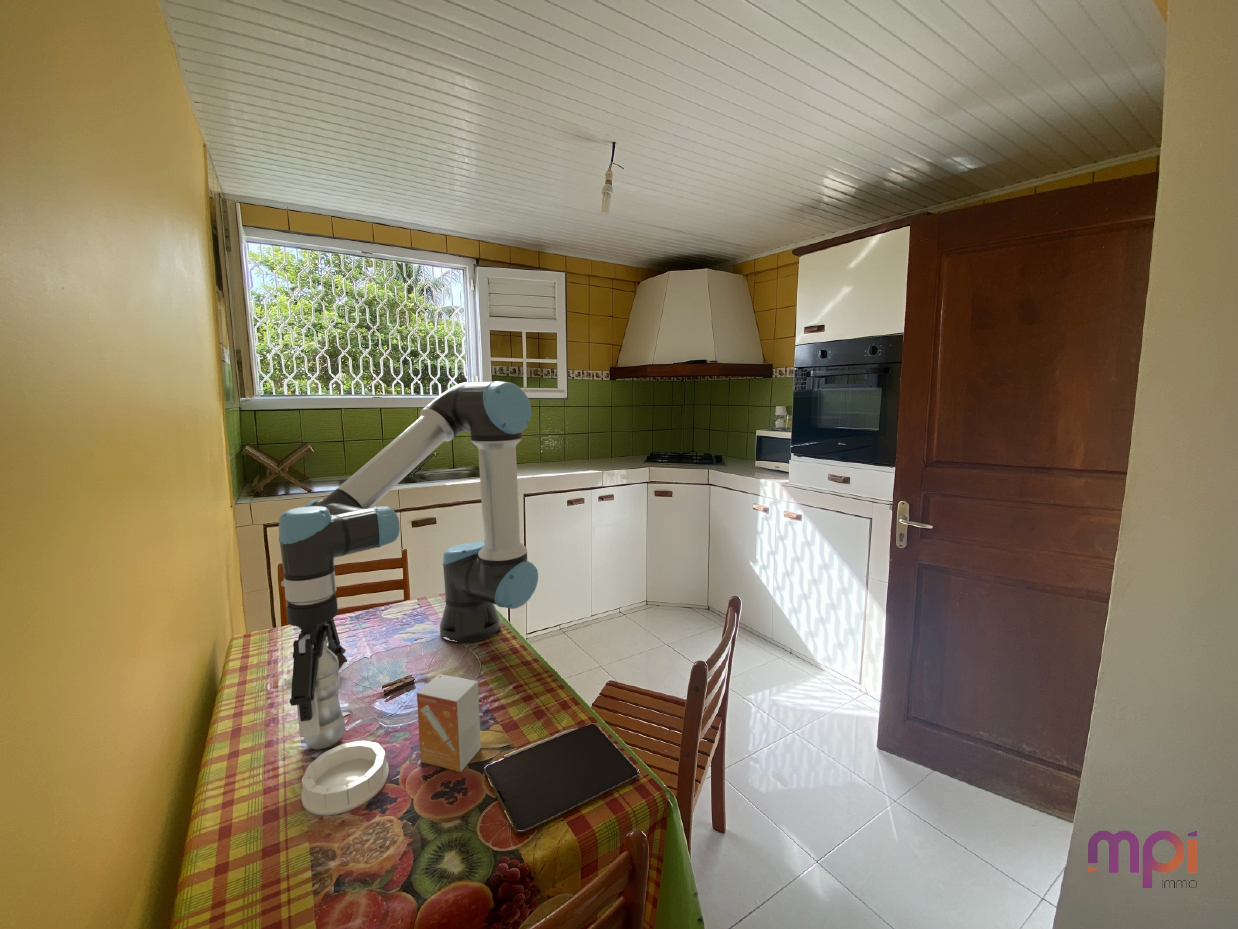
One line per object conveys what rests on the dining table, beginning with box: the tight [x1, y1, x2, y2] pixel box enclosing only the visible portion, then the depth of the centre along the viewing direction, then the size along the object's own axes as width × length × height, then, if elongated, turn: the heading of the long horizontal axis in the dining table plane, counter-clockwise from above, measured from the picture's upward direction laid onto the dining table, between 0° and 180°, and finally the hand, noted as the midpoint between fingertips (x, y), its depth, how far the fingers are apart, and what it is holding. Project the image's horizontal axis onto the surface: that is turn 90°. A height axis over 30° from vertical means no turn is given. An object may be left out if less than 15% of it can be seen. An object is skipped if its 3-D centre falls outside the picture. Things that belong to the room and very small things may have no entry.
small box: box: [416, 673, 482, 773], centre depth 87 cm, size 8×6×13 cm
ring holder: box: [300, 739, 390, 817], centre depth 82 cm, size 12×12×3 cm
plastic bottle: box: [303, 635, 346, 750], centre depth 90 cm, size 6×7×20 cm
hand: (321, 710), depth 91 cm, fingers open, 13 cm apart
